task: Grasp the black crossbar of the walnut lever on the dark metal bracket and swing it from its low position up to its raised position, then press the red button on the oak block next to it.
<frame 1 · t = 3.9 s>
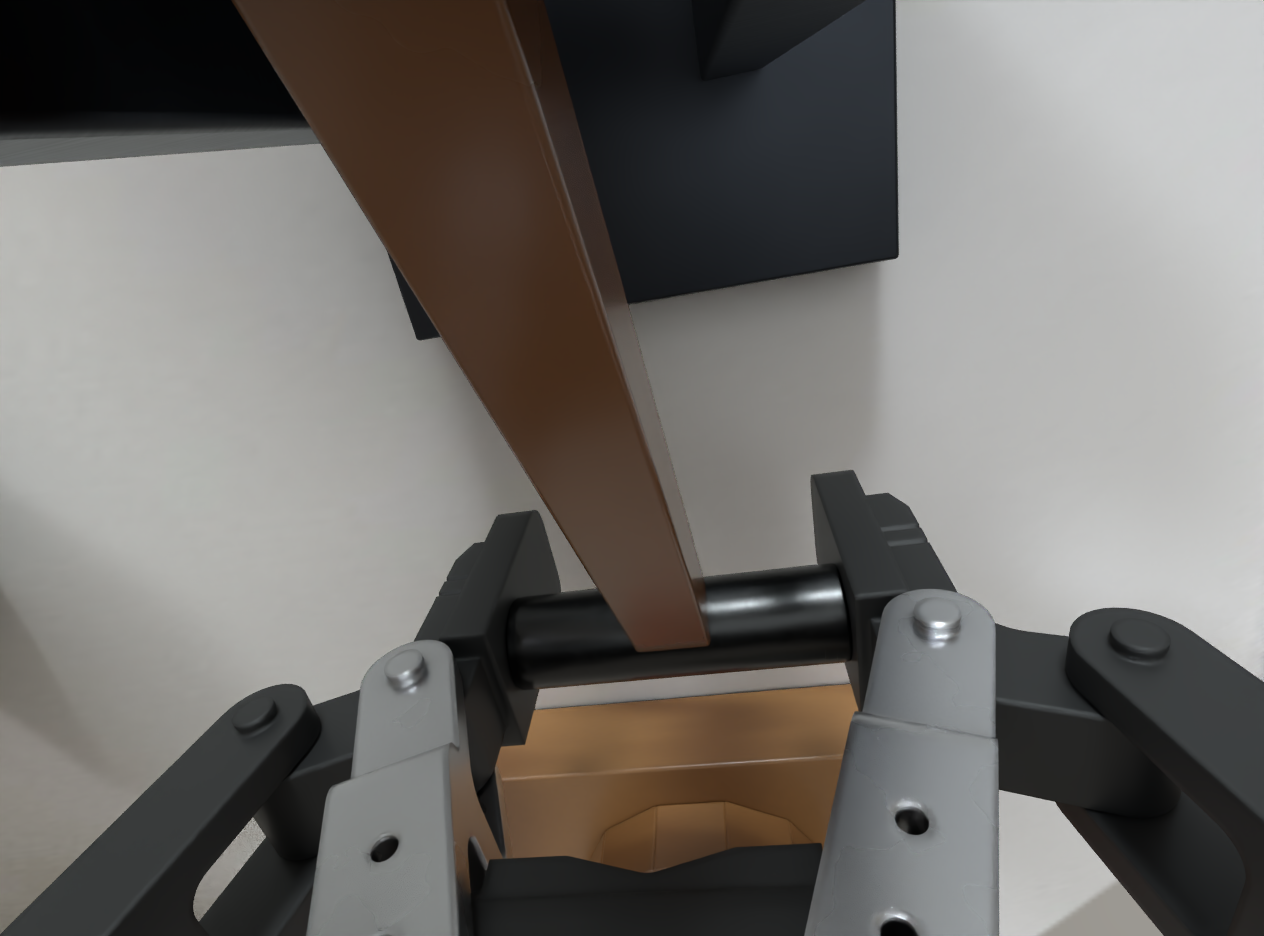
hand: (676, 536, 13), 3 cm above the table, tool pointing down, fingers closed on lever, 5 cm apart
button block: (705, 805, 20), on the table
lever: (574, 390, 6), point 8 cm above the table, hinge at -30.1°, touching gripper
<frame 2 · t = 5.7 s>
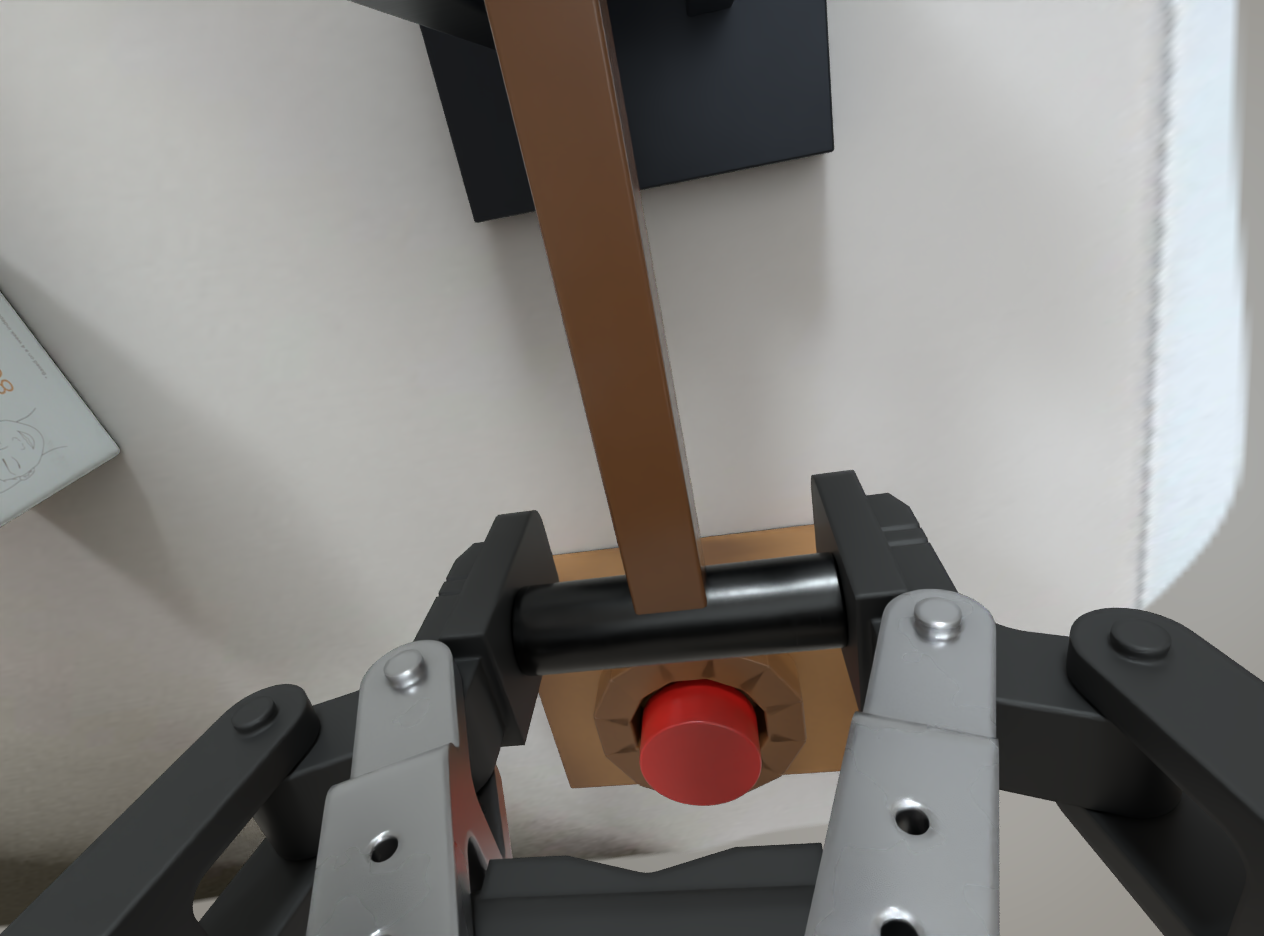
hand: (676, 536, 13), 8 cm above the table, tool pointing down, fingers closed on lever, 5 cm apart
button: (699, 742, 21), point 4 cm above the table, slide at 0.1 cm
button block: (697, 642, 25), on the table
lever: (597, 237, 8), point 11 cm above the table, hinge at -1.7°, touching gripper
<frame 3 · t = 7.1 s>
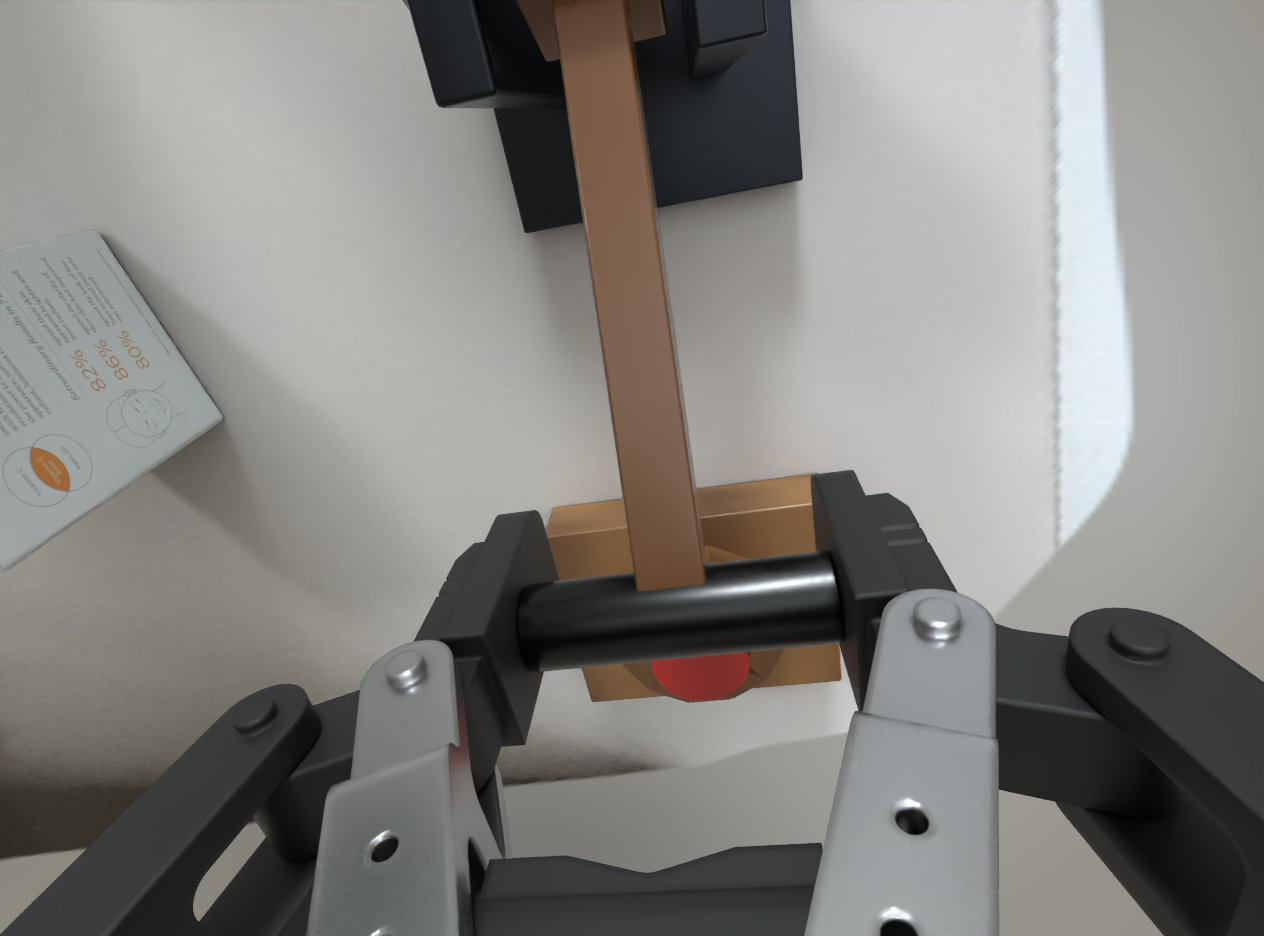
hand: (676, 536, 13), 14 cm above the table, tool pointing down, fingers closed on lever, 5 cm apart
button: (699, 649, 26), point 4 cm above the table, slide at 0.1 cm
small box: (117, 349, 27), on the table
button block: (697, 578, 30), on the table
lever: (626, 250, 11), point 13 cm above the table, hinge at 24.5°, touching gripper
bracket: (629, 9, 20), on the table
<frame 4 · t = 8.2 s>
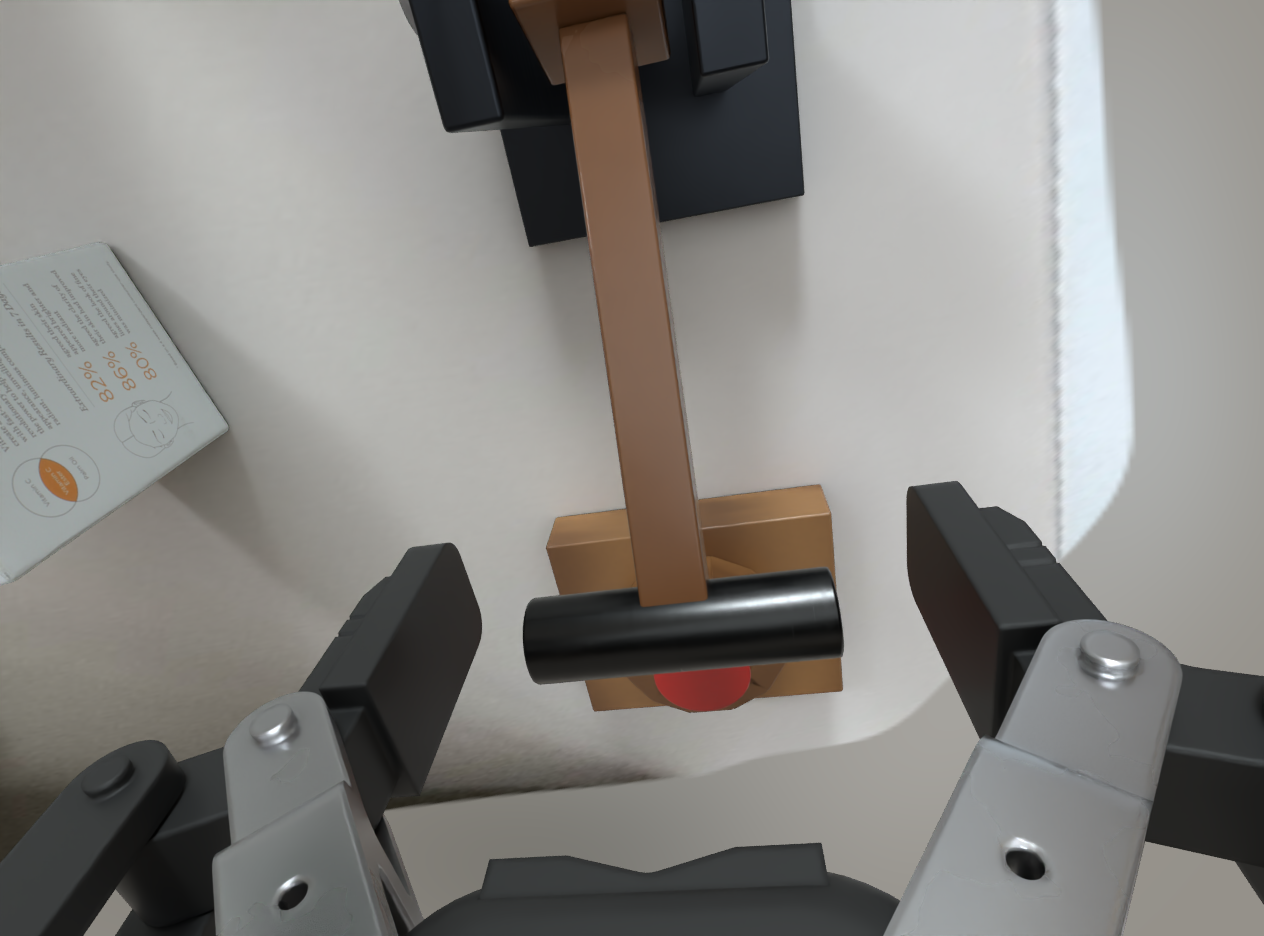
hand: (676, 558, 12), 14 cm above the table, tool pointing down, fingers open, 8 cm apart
button: (701, 660, 26), point 4 cm above the table, slide at 0.1 cm
small box: (124, 359, 27), on the table
button block: (699, 588, 30), on the table
lever: (630, 273, 11), point 13 cm above the table, hinge at 23.8°
bracket: (633, 27, 21), on the table
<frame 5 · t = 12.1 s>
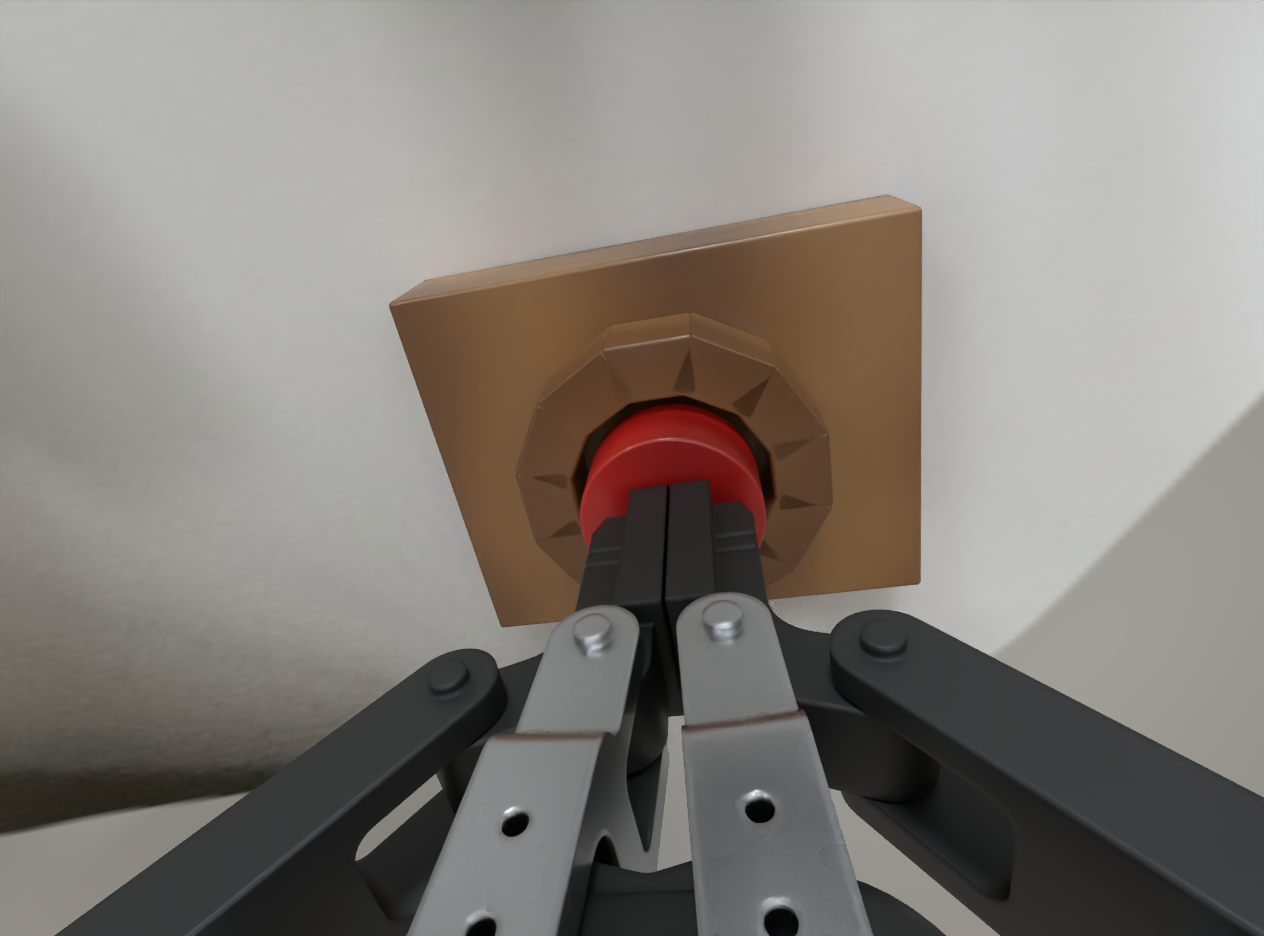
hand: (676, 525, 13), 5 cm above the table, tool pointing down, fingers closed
button: (672, 500, 14), point 4 cm above the table, slide at 0.0 cm, touching gripper
button block: (675, 416, 18), on the table
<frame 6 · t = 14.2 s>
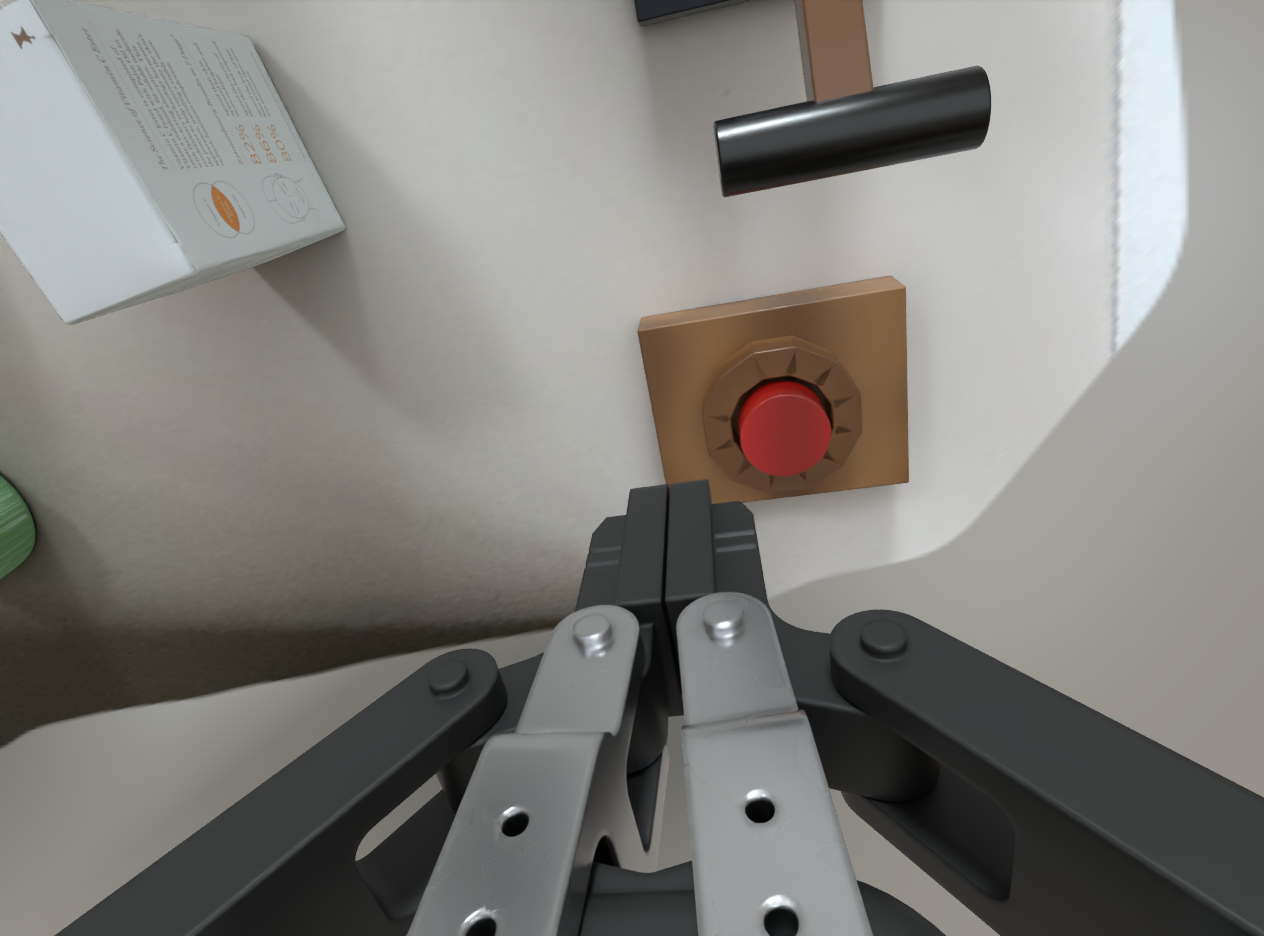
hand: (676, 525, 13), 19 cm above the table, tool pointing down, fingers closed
button: (783, 428, 28), point 4 cm above the table, slide at 0.1 cm
small box: (254, 161, 30), on the table
button block: (772, 391, 32), on the table
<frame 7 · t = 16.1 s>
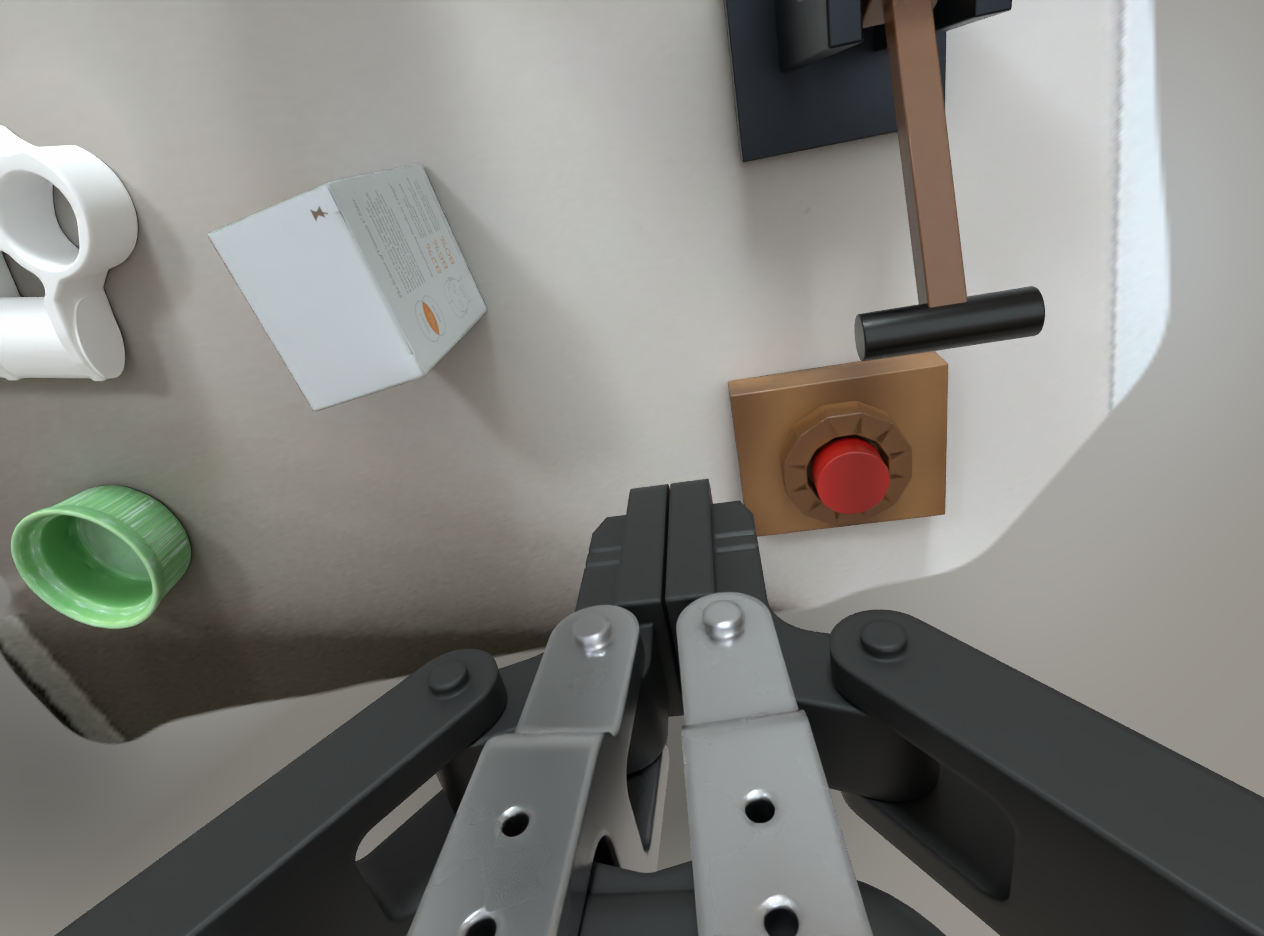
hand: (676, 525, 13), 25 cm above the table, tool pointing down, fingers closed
button: (849, 475, 35), point 4 cm above the table, slide at 0.1 cm
small box: (413, 256, 36), on the table
button block: (833, 439, 39), on the table
lever: (921, 128, 20), point 13 cm above the table, hinge at 23.8°
bracket: (830, 4, 30), on the table
ramekin: (137, 532, 46), on the table
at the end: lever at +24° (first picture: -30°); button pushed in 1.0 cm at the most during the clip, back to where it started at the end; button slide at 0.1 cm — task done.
